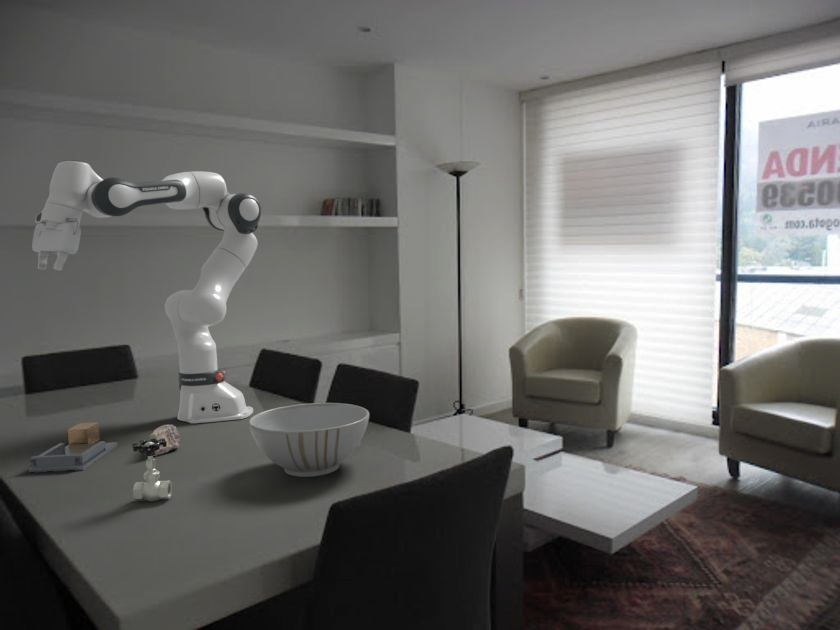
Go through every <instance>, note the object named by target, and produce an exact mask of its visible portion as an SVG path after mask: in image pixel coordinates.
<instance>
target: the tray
mask: <svg viewBox="0 0 840 630" xmlns="http://www.w3.org/2000/svg"><path fill="white" fill-rule="evenodd" d="M118 446H119V445H118V442H114V441H113V442H106V440H105V441H103V440H99V441H97V442H96V443H90V444H69V443H68V445H66V444H65V442H60V443H58V444H56V445H54V446H52V447H51V448H49V449H46V450H45V451H44V452H42V453H40V454H39V455H35V456H31V457H30V467H28V474H30V472H34V473H48V472H47V471H54V472H68V471H67V470H75V471H85V470H86V469H87V468H88V467H90V466H92V465H93V464H95V463H96V462H98V461H99V460H100V459H101V458H103V457H104V456H105V455H107V454H108V453H110V452H111V451H113V450H114V449H115V448H117V447H118ZM98 459H99V460H98ZM95 461H96V462H95Z"/></svg>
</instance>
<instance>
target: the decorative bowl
mask: <svg viewBox="0 0 840 630" xmlns="http://www.w3.org/2000/svg"><path fill="white" fill-rule="evenodd" d="M369 420H370V412H369V410H368V409H366V408H365V407H362V406H359V405H355V404H349V403H341V402H314V403H300V404H293V405H286V406H285V405H284V406H280V407H275V408H271V409H268V410H264V411H261V412H259V413H257V414H255V415H252V416H251V417H250V419H249V420H248V428H249V430H250V433H251V436H252V437H253V440H254V441H255V443H256V445H257V446H258V448H259V449H260V451H261V452H262V453H263V454H264V455H265V456H266V457H267V458H268V459H269V460H270V461H271V462H273V463H274V464H275V465H277V466H279V467H282V468H283V469H284V472H285V473H286V474H288V475H290V476H293V477H300V478H301V477H303V478H304V477H305V478H307V477H308V478H309V477H319V476H325V475H328V474H331V473H333V472H335V471H337V470H338V469H339V468H340V466H341V465H340V463H343V462H344V461H345V460H346V459H348V458H349V457H350V456H351V455H352V454H353V453H354V451H355V450H356V449H357V448H358V446H359V445H360V443H361V441H362V439H363V437H364V436H365V433H366V430H367V427H368V424H369Z"/></svg>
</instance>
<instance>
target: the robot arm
mask: <svg viewBox="0 0 840 630" xmlns="http://www.w3.org/2000/svg"><path fill="white" fill-rule="evenodd" d="M48 191H49V193H48V194H49V195H48V197H47V199H46V201H45V205H44V208H43V209H42V210H41V212H40V213H38V214H37V215H36V217H35V218H34V219H35V220H34V222H35V223H36V225H35V228H34V231H33V236H32V242H31V248H32V251H33V252H36V253H38V254H37V261H38V264H37V269H39V270H41V271H43V270H44V271H45V270H47V269H48V258H49V257H50V255H56V256H57V257H56V260H55V261H54V262H53V264H52V265H53V266H52V269H53V271H54V270H55V271H63V267H64V265H65V263H66V261H67V259H69V258H68V256H69V255H75V254H77V252H78V250H79V248H80V247H79V246H80V240H81V234H82V230H81V227H80V224H81V219H82V217H83V213H85V214H88V215H90V216H91V217H94V218H98V219H105V218H106V219H107V218H111V217H121V216H122V217H123V216H125V215H127V214H128V213H130V212H133V210H135V209H137V208H139V207H146V206H154V205H162V204H163V205H166V206H167V207H169V208H170V209H171V210H180V211H181V210H195V209H202V210H203V212H204V216H205V219H206V222H207V223H208V225H209V226H210V227H212V228H213V229H215V230H217V231H223V236H222V239H221V241H220V243H218V245H217V246H216V247H215V249H213V252H212V253H211V254H210V255H209V257H208V258H207V259H206V261H205V262H204V263H203V265H202V266H201V269H200V275H199V279H198V280H197V283H196V285H195V286H194V287H193V289H190V290H189V289H184V290H183V289H182V290H178V291H176V292H174V293H172V294H171V295H169V296H168V297H167V298H166V301H165V303H164V312H165V314H166V316H167V318H168V319H169V321H170V323H171V326H172V330H173V334H174V338H175V340H176V346H177V349H178V351H177V352H178V364H179V366H178V367H179V372H178V388H179V391H180V395H179V396H180V397H179V407H178V414H177V417H176V419H177V420H179V421H182V422H187V423H189V424H200V423H201V424H203V423H214V422H215V423H216V422H224V421H235V420H236V421H237V420H242V419H246V418H248V417H251V415H252V414H253V413H254V408H253V407H252V406H247V404H246V400H245V396H244V393H242V391H241V390H239V389H238V388H236V387H235V386H233V385H231V384H229V383H228V382H227V381H225V380H226V378H225V377H226V376H225V375H226V374H225V373H226V371H225V370H223V371H222V370H221V369H219V368H218V354H217V353H218V352H217V345H216V344H217V343H216V342H215V340H214V339H213V337H212V335H211V333H210V330H209V327H212V326H215V325H218V324H220V323H221V322H222V321H223V320H224V319H225V317H226V314H227V301H228V300H229V296H230V294H231V292H232V290H233V288H234V286H235V284H236V283H237V282H238V280H239V279H240V277H241V276H242V274H243V273H244V272H245V270H246V269H247V267H248V266H249V264H250V263H251V261H252V259H253V257H254V255H255V253H256V251H257V248H258V243H259V242H258V239H257V237H256V235H255V234H254V233H255V231H257V229H258V227H259V226H258V225H259V221H260V219H261V216H262V206H261V204H260V203H261V202H260V201H259V200H258V199H257V197H255V196H253V195H251V194H249V193H245V192H244V193H243V192H239V193H232V194H231V193H230V192H229V191H228V188H227V184H226V181H225V179H224V177H223V176H222V175H221V174H219V173H217V172H213V171H201V170H199V171H198V170H195V171H183V172H178V173H173V174H169V175H167V176H165V177H164V178H162V180H158V181H157V180H155V181H142V182H133V181H129V180H125V179H122V178H119V177H108V178H105V179H103V178H102V177H100V176H99V175H98V174H97V173H96V171H94V170H93V168H92V166H91V165H90V164H89V163H87V162H85V161H82V160H77V159H76V160H75V159H65V160H62V161H60V162H58V163H57V165H56V166H55V169H54V171H53V174H52V176H51V179H50V184H49V190H48Z"/></svg>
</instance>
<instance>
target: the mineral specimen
mask: <svg viewBox="0 0 840 630" xmlns="http://www.w3.org/2000/svg"><path fill="white" fill-rule="evenodd" d="M148 437H149V440H151V438H157V440H159V439H162V438H164V439H165V441H166V442H167V446H166V447H163V445H161V446H160V449H159V450H157V451H155V455H153V456H155V457H156V456H157V457H158V456H161V455H163V454H166V453H168V452H170V451H171V450H176V449H178V448H179V447H180V444H179V443H180V433H179V430H177V427H176V426H175V425H174V424H162V425H160V426H158V427H157V428H156V429H154V430H153V432H152V433H151V434H150V435H149V436H148ZM154 444H155V443H154Z"/></svg>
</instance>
